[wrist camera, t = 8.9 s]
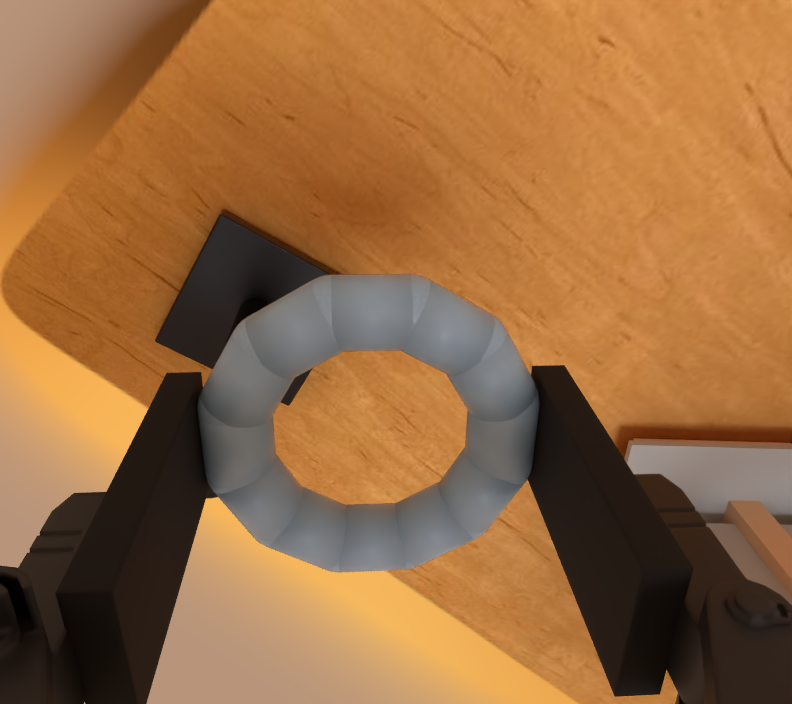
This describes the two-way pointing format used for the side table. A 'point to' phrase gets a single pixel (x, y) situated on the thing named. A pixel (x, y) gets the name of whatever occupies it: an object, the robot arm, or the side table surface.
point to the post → (234, 291)
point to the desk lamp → (733, 497)
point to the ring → (367, 331)
